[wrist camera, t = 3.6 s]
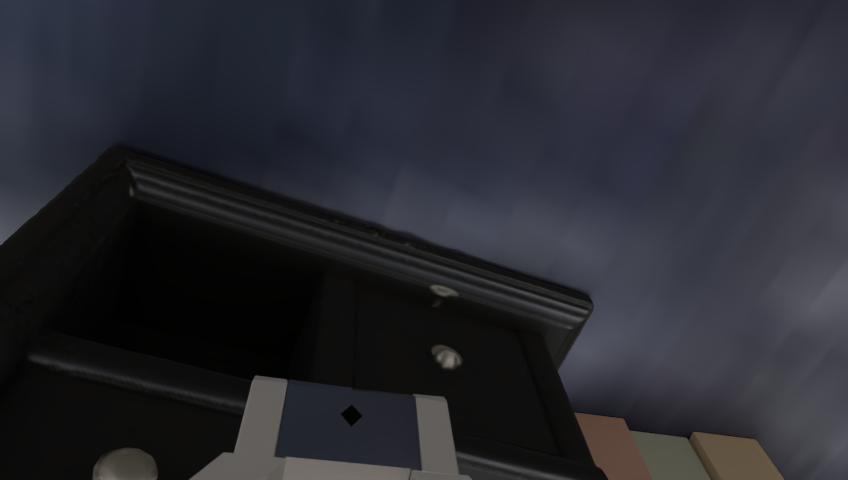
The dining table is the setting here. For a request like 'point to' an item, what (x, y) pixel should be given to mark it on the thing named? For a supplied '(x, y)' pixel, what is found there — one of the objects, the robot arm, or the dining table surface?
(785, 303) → the dining table surface
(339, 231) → the black drawer cabinet
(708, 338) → the dining table surface
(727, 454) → the book row
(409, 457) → the robot arm
